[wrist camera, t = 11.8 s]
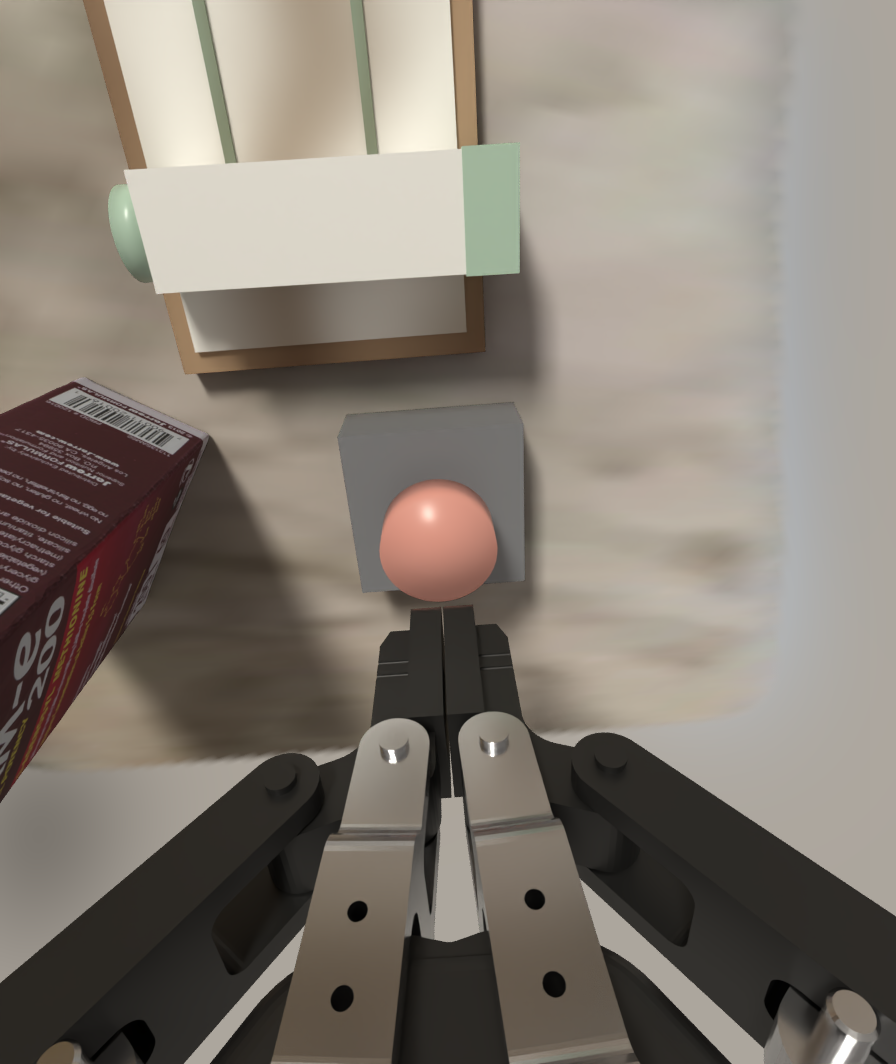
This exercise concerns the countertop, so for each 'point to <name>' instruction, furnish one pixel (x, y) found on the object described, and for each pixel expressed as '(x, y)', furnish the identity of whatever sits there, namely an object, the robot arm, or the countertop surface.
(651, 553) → the countertop surface
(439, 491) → the button
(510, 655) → the robot arm
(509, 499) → the button housing
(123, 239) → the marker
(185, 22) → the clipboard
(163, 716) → the countertop surface
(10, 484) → the supplement box
